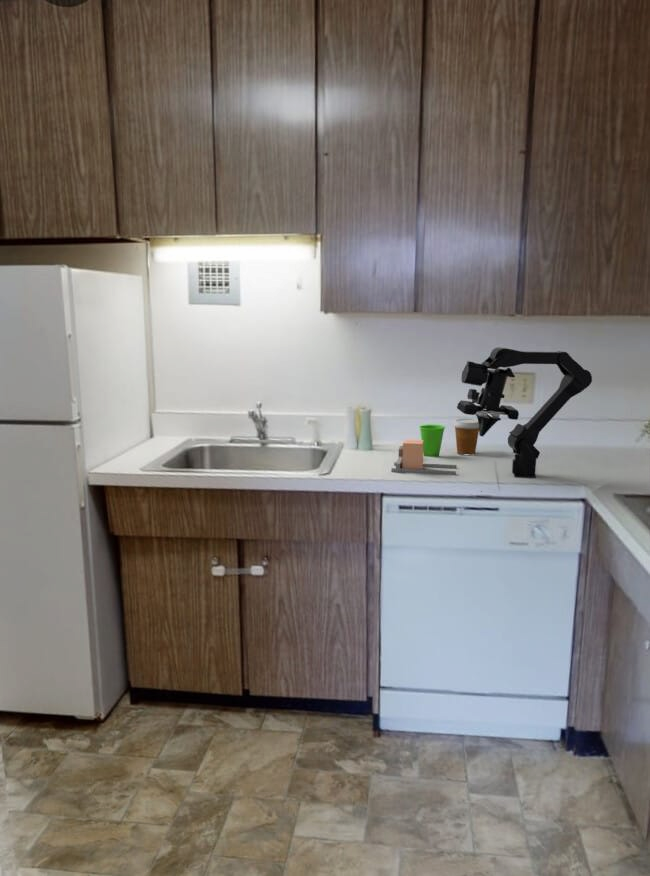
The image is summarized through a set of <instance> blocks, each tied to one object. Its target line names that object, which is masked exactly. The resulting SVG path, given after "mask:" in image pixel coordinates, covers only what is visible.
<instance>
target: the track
mask: <svg viewBox="0 0 650 876" xmlns="http://www.w3.org/2000/svg"><path fill="white" fill-rule="evenodd" d="M393 465H394V466H395V467H391V469H390V471H391V473H408V474H409V473H410V474H427V475H428V474H431V475H449V476H450V475H451V476H452V475H453V476H456V475H457V470H455V469H457V468H458V467H457V464H447V463H446V464H444V463H424V462H423V468H433V469H402V468H403V457H399V456H398V458H397V461H395V462H393ZM435 468H437V469H435ZM438 468H439V469H440V470H439V469H438ZM442 469H443V470H442ZM444 469H454V470H444Z"/></svg>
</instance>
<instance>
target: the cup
mask: <svg viewBox="0 0 650 876" xmlns="http://www.w3.org/2000/svg"><path fill="white" fill-rule="evenodd" d="M418 428H419V430H420V437H421V438H420V440H423V457H431V458H432V457H433V458H434V457H435V458H439V457H440V454H441V453H440V452H441V447H442V442H443V437H444V431H445V429H446V427H445V425H440V424H421V425H419V427H418Z"/></svg>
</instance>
